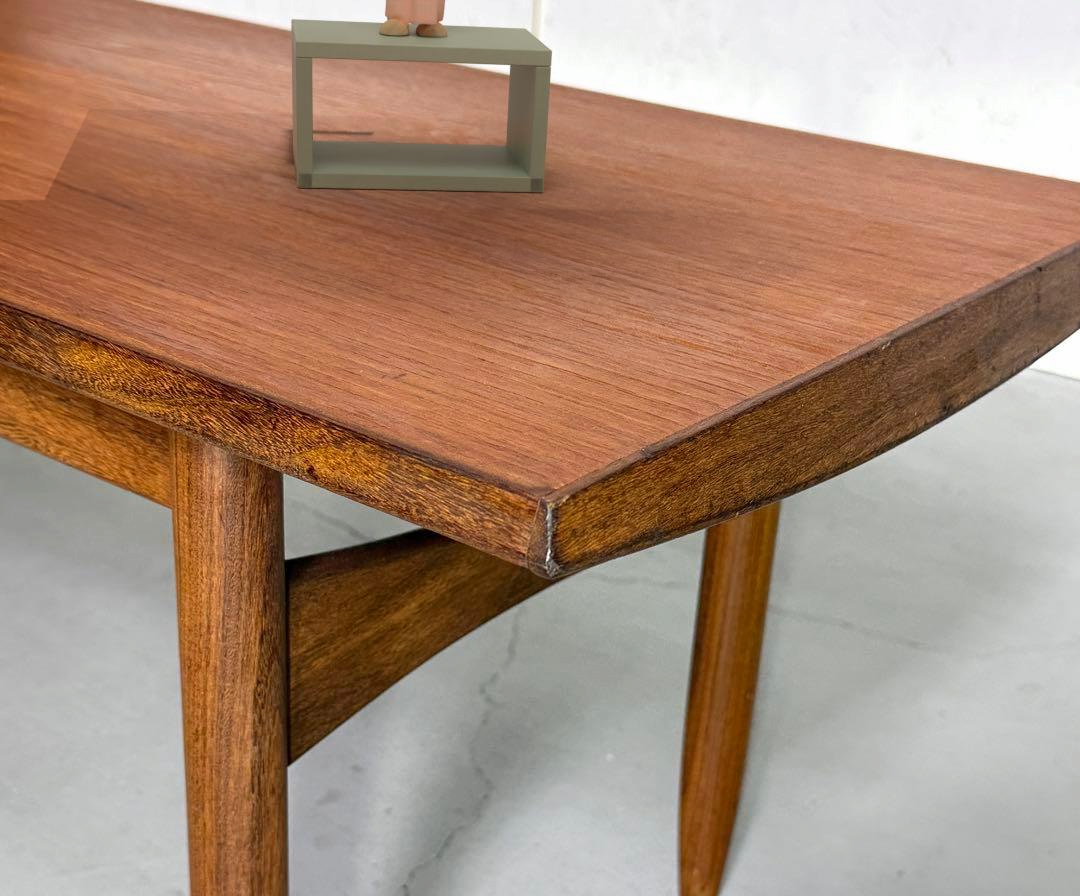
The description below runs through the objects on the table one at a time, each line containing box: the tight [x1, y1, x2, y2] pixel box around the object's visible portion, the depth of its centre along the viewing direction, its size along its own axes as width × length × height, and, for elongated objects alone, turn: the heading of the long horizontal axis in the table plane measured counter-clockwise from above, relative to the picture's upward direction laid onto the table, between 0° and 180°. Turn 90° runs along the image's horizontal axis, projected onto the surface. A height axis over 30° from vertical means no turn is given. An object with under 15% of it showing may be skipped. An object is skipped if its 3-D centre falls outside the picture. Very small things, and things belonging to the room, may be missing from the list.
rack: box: [290, 18, 553, 194], centre depth 99 cm, size 16×10×9 cm, turn 100°
